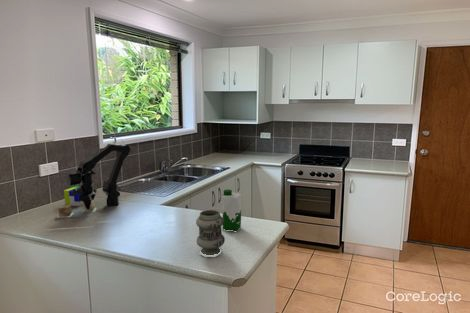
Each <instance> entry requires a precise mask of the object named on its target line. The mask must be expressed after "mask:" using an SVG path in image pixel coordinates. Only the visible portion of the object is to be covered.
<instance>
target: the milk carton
mask: <svg viewBox="0 0 470 313" xmlns="http://www.w3.org/2000/svg"><path fill="white" fill-rule="evenodd" d="M221 201H222V218H223V219H224V224H223V225H222V230H223V229H225V230H233V231H237V230H238V229H239V228H240V229H241V226H242V193H237V192H233V190H232V189H224V190H223V194H222V195H221ZM240 229H239V230H240ZM239 230H238V231H239ZM238 231H237V232H238Z"/></svg>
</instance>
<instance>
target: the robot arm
mask: <svg viewBox="0 0 470 313" xmlns="http://www.w3.org/2000/svg"><path fill="white" fill-rule="evenodd" d="M114 151H115V152H116V154H115V155H116V158H115V161H114V164H113V167H112V169H111V172H110V175H109V178H108V179H107V180H104V181H103V185H102V186H101V188H102V192H103V193H104V194H105V195H106V197H107V198H106V199H105V200H106V201H105V202H106V206H107V207H118V206H119V205H120V200H119V198H120V196H121V192H120V191H118V190H117V188H118V183H117V182H118V179H119V176H120V172H121V169H122V167H123V164H124V161H125V160H126V158H127V157H128V156H129V154H130V152H131V146H129V145H128V144H122V143H121V144H118V145H117V144H114V143H108V144H107V145H105V146H104V148H101V149H100V150H99V151H97V152H96V153H95V154H93V155H92V156H91V157H88V158H86V159H84V160H81V161H80V162H79V164H78V168H77V169H76V171H75V172H73V173H70V172H69V173H67V176H66V184H67V185H68V186H69V187H70V186H75V185H76V186H77V185H80V186H78V187H79V188H75V189H73V190H72V193H71V194H73V195H74V196H76V195H77V194H80V193H81V195H80V196H79V197H78V201H83V202H84V204H85V206H86V209H87V210H89V208H90V204H91V201H92V200H94V201H95V197H96V195H97V193H98V188H96V187H94V185H95V183H94V182H93V175H96V172H95V171H94V170H93V169H94V168H95V167H96V165H97V164H98V163H99V162H100V161H101V160H103V159H104V158H105V157H107V156H108V155H110V153H112V152H114Z"/></svg>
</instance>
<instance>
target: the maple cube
mask: <svg viewBox="0 0 470 313" xmlns="http://www.w3.org/2000/svg"><path fill="white" fill-rule="evenodd" d="M95 206H96V205H95V199H94V200H92V201H91V204H90V208H89V210H93V209H94V208H96V207H95ZM82 209H83V210H84V211H89V210H87V209H86V206H85V204H84V202H83V205H82Z"/></svg>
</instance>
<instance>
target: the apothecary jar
mask: <svg viewBox="0 0 470 313" xmlns="http://www.w3.org/2000/svg"><path fill="white" fill-rule="evenodd" d="M220 213H221V212H220V211H219V210H216V209H206V210H205V209H204V210H203V211H200V212H199V216H198V217H197V218H196V219H195V220H196V221H195V224H196V226H197V227H198V232H199V233H198V236H197V238H196V244H197V246H198V247H200V248H201V249H200V250H201V252H202V253H203V254H206V255H214V254H218V253H219V252H220V249H221V247H222V246H223V245H224V244H225V241H226V240H225V236H224V235H223V234H222V227H223V224H224V219H223V216H221V214H220ZM219 248H220V249H219Z"/></svg>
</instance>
